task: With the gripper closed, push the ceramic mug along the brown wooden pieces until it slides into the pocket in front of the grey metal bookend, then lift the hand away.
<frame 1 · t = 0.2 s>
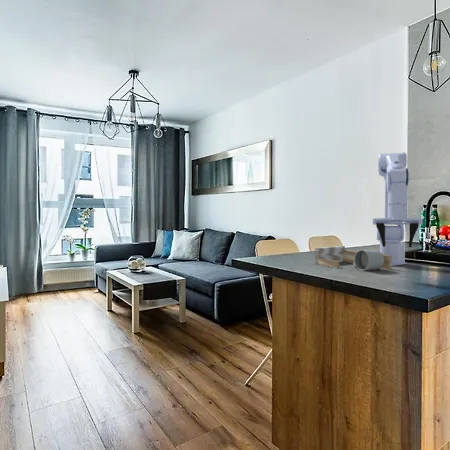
hand: (396, 246, 117), 10 cm above the worktop, tool pointing down, fingers open, 7 cm apart
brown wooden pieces: (351, 266, 140), on the worktop
ceramic mug: (366, 269, 134), on the worktop
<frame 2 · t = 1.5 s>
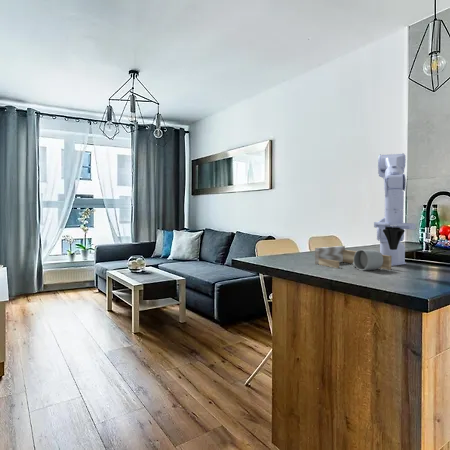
hand: (393, 249, 124), 9 cm above the worktop, tool pointing down, fingers closed
nothing on the worktop moved.
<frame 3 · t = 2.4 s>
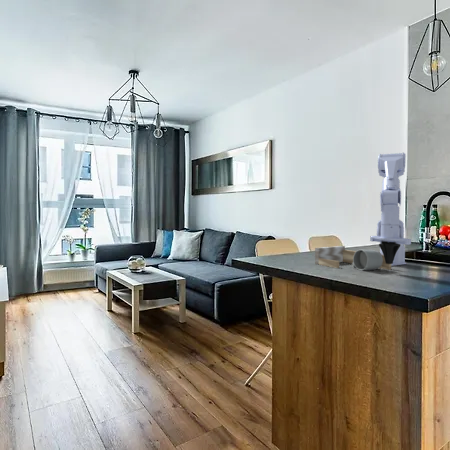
hand: (389, 263, 126), 3 cm above the worktop, tool pointing down, fingers closed
nothing on the worktop moved.
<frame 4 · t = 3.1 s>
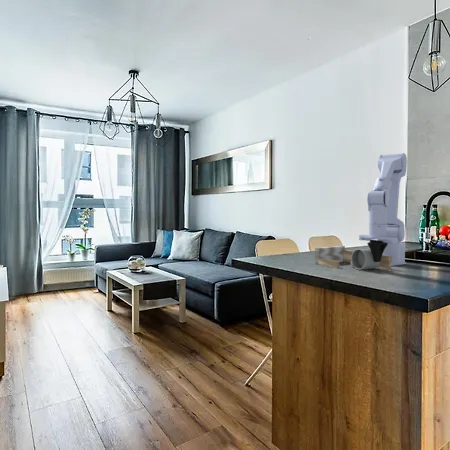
hand: (377, 261, 130), 3 cm above the worktop, tool pointing down, fingers closed
ceramic mug: (363, 269, 136), on the worktop, touching gripper
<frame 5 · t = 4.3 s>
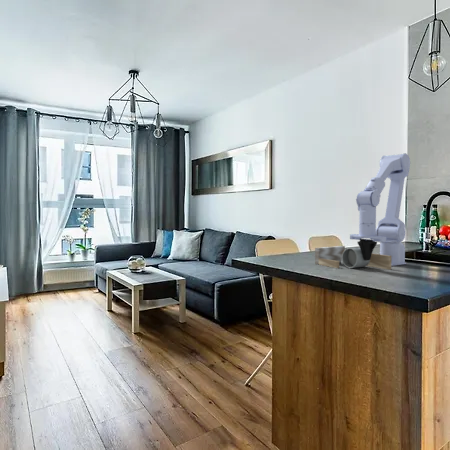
hand: (366, 260, 134), 3 cm above the worktop, tool pointing down, fingers closed
ceramic mug: (353, 267, 139), on the worktop, touching gripper
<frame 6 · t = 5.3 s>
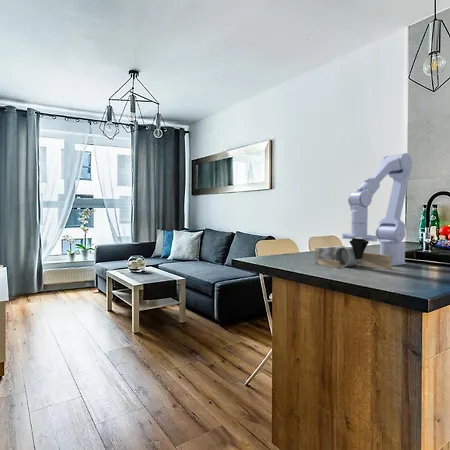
hand: (358, 258, 137), 3 cm above the worktop, tool pointing down, fingers closed
ceramic mug: (345, 266, 142), on the worktop, touching gripper
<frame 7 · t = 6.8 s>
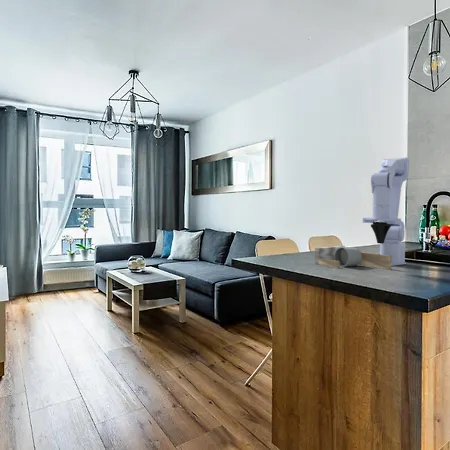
hand: (380, 243, 131), 10 cm above the worktop, tool pointing down, fingers closed
ceramic mug: (345, 266, 143), on the worktop
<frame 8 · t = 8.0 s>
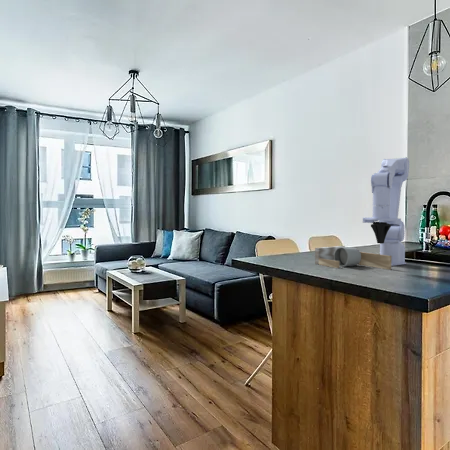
hand: (380, 243, 131), 10 cm above the worktop, tool pointing down, fingers closed
nothing on the worktop moved.
at the end: ceramic mug inside the target area (0.8 cm from its centre), on the worktop; ceramic mug tilted 0°; ceramic mug touching worktop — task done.
